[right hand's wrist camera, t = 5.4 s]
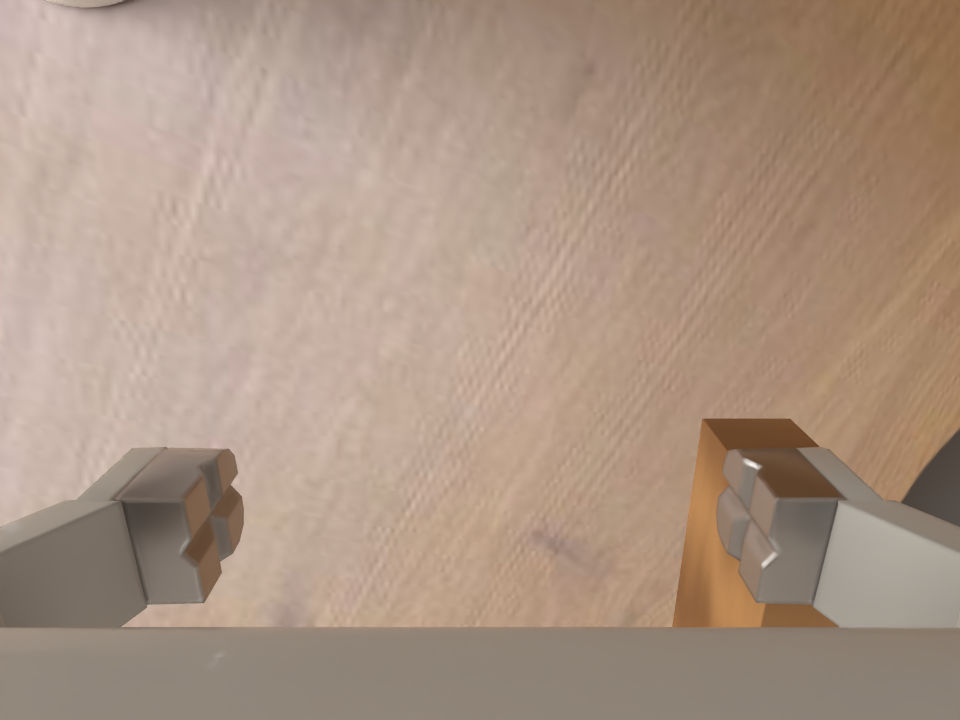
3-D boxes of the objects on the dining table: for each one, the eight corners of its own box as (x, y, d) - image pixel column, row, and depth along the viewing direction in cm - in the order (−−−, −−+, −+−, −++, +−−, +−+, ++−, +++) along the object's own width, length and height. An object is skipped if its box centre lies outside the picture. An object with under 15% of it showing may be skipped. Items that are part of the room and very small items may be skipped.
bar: (702, 418, 31) (781, 523, 23) (790, 418, 31) (901, 522, 23) (656, 731, 39) (704, 892, 31) (727, 731, 39) (793, 892, 31)
